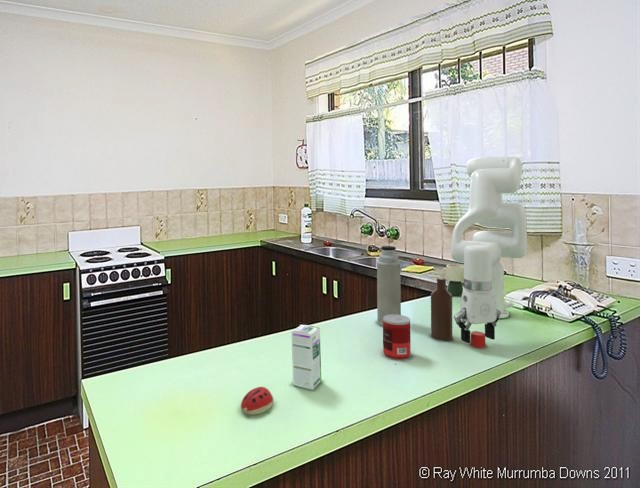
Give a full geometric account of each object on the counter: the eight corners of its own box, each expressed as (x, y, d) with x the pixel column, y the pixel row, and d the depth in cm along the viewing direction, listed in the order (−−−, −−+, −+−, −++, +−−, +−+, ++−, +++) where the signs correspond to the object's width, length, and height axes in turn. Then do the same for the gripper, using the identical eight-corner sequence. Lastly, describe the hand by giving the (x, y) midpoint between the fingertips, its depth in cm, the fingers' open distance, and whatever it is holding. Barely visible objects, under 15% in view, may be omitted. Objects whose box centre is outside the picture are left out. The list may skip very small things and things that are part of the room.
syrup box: (313, 390, 111) (312, 334, 111) (292, 385, 114) (291, 329, 114) (321, 381, 116) (320, 327, 116) (301, 376, 119) (300, 323, 119)
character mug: (472, 295, 191) (471, 266, 191) (464, 299, 187) (463, 268, 187) (447, 291, 200) (447, 262, 200) (439, 293, 196) (439, 264, 195)
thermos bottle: (375, 319, 163) (374, 244, 162) (397, 320, 163) (396, 244, 162) (380, 327, 155) (379, 248, 154) (403, 327, 155) (402, 248, 154)
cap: (474, 347, 136) (474, 335, 136) (468, 342, 140) (468, 330, 140) (487, 348, 136) (487, 335, 135) (482, 343, 139) (482, 331, 139)
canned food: (414, 353, 132) (414, 317, 132) (403, 362, 127) (403, 324, 126) (390, 347, 138) (389, 312, 137) (378, 355, 132) (378, 319, 131)
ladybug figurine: (279, 401, 106) (279, 387, 106) (258, 421, 98) (258, 405, 98) (255, 394, 110) (255, 380, 110) (233, 412, 102) (233, 397, 102)
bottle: (442, 332, 149) (442, 275, 148) (456, 339, 143) (456, 279, 142) (426, 335, 147) (426, 277, 147) (440, 342, 141) (440, 281, 140)
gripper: (463, 290, 131) (464, 348, 132) (510, 285, 136) (510, 340, 137) (445, 284, 138) (446, 339, 139) (490, 280, 143) (490, 332, 144)
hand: (477, 339), depth 138 cm, fingers open, 8 cm apart
